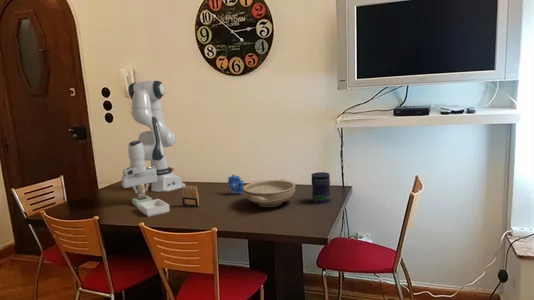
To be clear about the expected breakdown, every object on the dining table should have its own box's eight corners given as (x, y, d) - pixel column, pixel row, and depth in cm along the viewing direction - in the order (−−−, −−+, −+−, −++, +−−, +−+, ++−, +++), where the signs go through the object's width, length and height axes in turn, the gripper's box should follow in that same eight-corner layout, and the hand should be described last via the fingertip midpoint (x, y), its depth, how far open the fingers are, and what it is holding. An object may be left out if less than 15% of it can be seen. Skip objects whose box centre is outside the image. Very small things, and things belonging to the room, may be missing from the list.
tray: (159, 205, 239) (158, 198, 238) (169, 211, 226) (169, 204, 225) (138, 210, 233) (137, 203, 232) (148, 216, 219) (147, 209, 219)
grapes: (224, 195, 251) (223, 175, 249) (230, 192, 257) (228, 173, 255) (241, 196, 246) (240, 176, 244) (247, 193, 252) (245, 174, 250)
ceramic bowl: (261, 193, 251) (260, 176, 249) (306, 195, 239) (305, 178, 238) (231, 212, 218) (229, 193, 216) (281, 216, 206) (280, 196, 204)
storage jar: (333, 199, 229) (332, 172, 226) (327, 204, 220) (326, 176, 218) (315, 198, 233) (314, 171, 231) (310, 203, 224) (308, 176, 222)
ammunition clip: (200, 206, 232) (198, 185, 230) (198, 207, 231) (196, 186, 229) (184, 204, 237) (182, 184, 235) (182, 205, 235) (180, 185, 233)
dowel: (144, 198, 249) (142, 182, 247) (147, 200, 245) (144, 183, 244) (138, 200, 246) (136, 184, 245) (140, 201, 243) (138, 185, 241)
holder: (147, 200, 252) (147, 195, 251) (152, 203, 245) (151, 198, 244) (132, 203, 247) (132, 198, 247) (137, 206, 240) (136, 201, 239)
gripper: (154, 165, 251) (156, 187, 253) (119, 171, 240) (122, 194, 242) (157, 166, 246) (160, 189, 248) (122, 173, 234) (125, 196, 237)
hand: (141, 192), depth 245 cm, fingers closed on dowel, 4 cm apart
